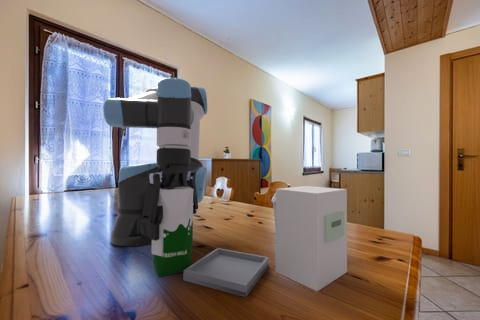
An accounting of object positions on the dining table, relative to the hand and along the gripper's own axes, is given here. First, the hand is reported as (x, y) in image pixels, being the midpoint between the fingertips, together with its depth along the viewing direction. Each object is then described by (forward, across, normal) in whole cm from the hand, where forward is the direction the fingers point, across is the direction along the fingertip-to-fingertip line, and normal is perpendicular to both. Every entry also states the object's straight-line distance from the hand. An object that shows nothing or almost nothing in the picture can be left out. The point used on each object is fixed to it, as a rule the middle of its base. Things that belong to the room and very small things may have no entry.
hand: (173, 246), depth 52 cm
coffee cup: (+5, +24, -21) cm, 32 cm away
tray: (+4, +3, -13) cm, 14 cm away
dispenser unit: (+5, +11, -29) cm, 31 cm away
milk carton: (+5, 0, 0) cm, 5 cm away
